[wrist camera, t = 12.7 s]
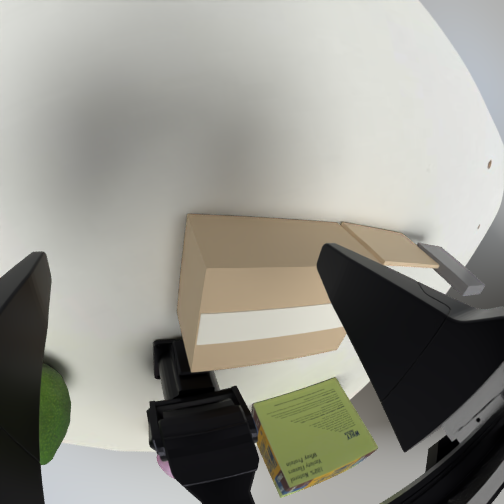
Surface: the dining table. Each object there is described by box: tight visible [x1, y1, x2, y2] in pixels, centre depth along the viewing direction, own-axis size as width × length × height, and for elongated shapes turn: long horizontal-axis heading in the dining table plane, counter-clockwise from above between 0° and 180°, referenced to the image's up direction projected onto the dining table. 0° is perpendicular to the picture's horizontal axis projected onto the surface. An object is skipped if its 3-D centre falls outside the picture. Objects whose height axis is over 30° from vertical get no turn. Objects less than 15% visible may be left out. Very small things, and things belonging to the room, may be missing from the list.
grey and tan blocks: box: [341, 222, 485, 296], centre depth 27 cm, size 15×1×11 cm, turn 73°
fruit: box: [39, 363, 71, 465], centre depth 21 cm, size 8×8×12 cm
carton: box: [177, 214, 383, 373], centre depth 25 cm, size 10×14×7 cm
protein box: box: [252, 378, 378, 497], centre depth 42 cm, size 10×15×16 cm
